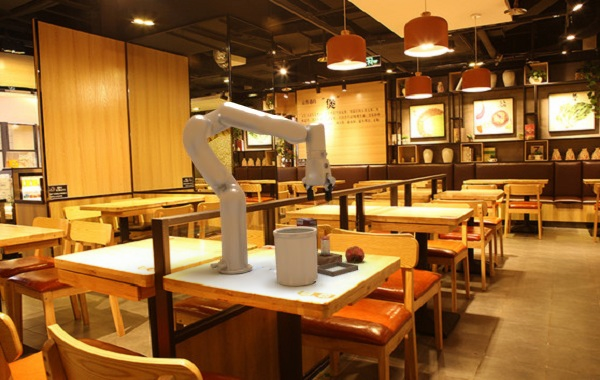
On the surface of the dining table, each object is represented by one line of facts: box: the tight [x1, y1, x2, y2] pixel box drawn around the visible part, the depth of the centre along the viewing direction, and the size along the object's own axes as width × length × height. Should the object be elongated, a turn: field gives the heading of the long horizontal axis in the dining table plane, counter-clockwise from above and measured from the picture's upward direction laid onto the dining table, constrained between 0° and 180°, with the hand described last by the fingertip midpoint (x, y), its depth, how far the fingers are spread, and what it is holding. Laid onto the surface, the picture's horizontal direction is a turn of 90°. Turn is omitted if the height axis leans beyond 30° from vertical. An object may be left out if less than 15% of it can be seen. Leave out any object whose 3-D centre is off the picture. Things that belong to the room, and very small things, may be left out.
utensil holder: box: [272, 225, 318, 287], centre depth 150 cm, size 15×15×18 cm
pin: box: [320, 235, 331, 257], centre depth 171 cm, size 3×3×10 cm
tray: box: [317, 261, 359, 278], centre depth 159 cm, size 13×10×2 cm
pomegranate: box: [344, 245, 365, 265], centre depth 172 cm, size 7×7×10 cm
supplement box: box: [296, 217, 319, 254], centre depth 189 cm, size 9×5×16 cm, turn 41°
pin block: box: [317, 252, 343, 266], centre depth 171 cm, size 9×9×4 cm
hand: (319, 200), depth 171 cm, fingers open, 9 cm apart
